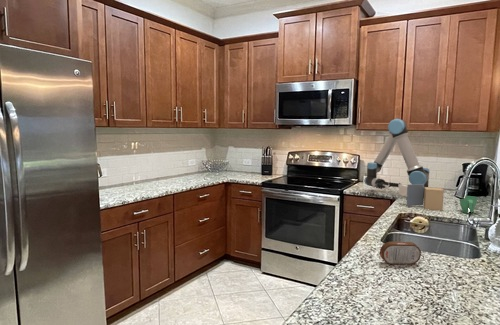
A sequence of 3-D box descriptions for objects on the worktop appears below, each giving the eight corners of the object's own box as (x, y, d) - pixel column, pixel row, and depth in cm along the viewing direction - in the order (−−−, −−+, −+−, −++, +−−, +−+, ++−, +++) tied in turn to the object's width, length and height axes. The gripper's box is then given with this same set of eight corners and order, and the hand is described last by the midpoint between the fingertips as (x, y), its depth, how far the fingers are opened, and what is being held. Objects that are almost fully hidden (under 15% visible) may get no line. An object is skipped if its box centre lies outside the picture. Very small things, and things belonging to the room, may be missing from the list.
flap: (423, 205, 228) (424, 184, 227) (407, 205, 225) (408, 184, 224) (411, 201, 240) (412, 181, 238) (395, 202, 237) (396, 182, 236)
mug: (457, 210, 218) (458, 195, 217) (474, 211, 214) (475, 196, 213) (461, 215, 205) (462, 199, 204) (480, 216, 201) (481, 200, 200)
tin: (417, 262, 128) (418, 241, 128) (421, 265, 125) (423, 243, 124) (378, 262, 128) (379, 240, 128) (382, 265, 125) (383, 243, 124)
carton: (440, 207, 225) (441, 188, 223) (442, 211, 215) (443, 190, 214) (423, 206, 228) (424, 187, 227) (425, 209, 219) (426, 189, 218)
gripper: (392, 187, 266) (411, 191, 245) (364, 188, 260) (381, 193, 239) (392, 178, 265) (411, 181, 245) (364, 179, 259) (381, 182, 239)
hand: (396, 187), depth 242 cm, fingers open, 13 cm apart
